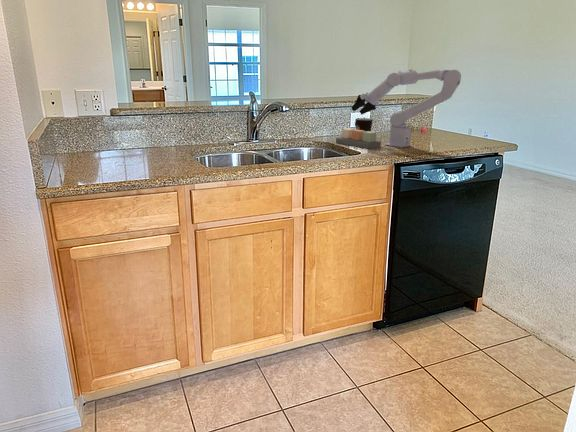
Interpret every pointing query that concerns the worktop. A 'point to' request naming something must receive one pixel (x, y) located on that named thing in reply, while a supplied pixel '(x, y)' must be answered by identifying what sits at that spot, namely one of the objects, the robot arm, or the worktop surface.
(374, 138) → the block sage
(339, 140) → the compartment tray
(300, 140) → the worktop surface
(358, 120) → the coffee mug
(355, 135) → the block terracotta
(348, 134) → the block cream
